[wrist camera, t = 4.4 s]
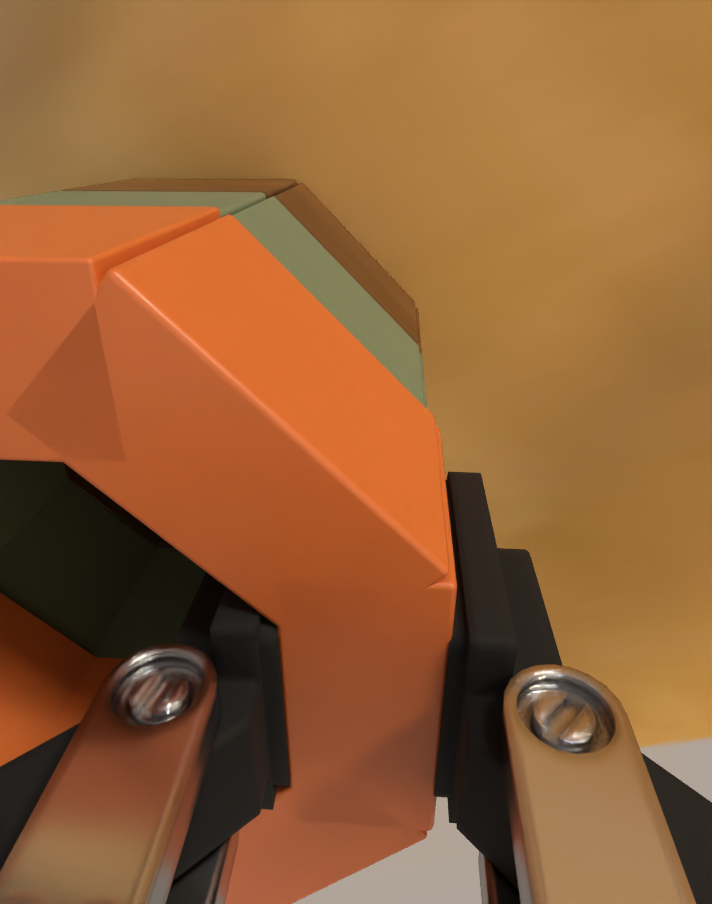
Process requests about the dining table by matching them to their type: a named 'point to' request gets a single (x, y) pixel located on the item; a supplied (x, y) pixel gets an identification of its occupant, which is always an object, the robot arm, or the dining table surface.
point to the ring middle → (100, 532)
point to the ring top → (240, 506)
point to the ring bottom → (320, 228)
